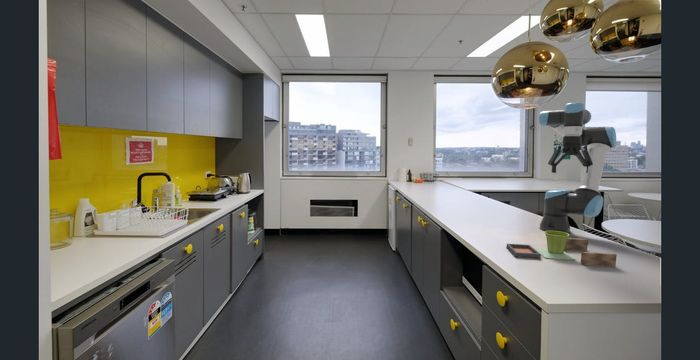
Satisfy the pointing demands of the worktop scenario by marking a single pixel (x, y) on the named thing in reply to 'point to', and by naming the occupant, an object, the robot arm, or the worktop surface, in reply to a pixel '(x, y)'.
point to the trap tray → (523, 251)
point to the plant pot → (556, 241)
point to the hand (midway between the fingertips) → (569, 179)
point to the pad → (554, 255)
